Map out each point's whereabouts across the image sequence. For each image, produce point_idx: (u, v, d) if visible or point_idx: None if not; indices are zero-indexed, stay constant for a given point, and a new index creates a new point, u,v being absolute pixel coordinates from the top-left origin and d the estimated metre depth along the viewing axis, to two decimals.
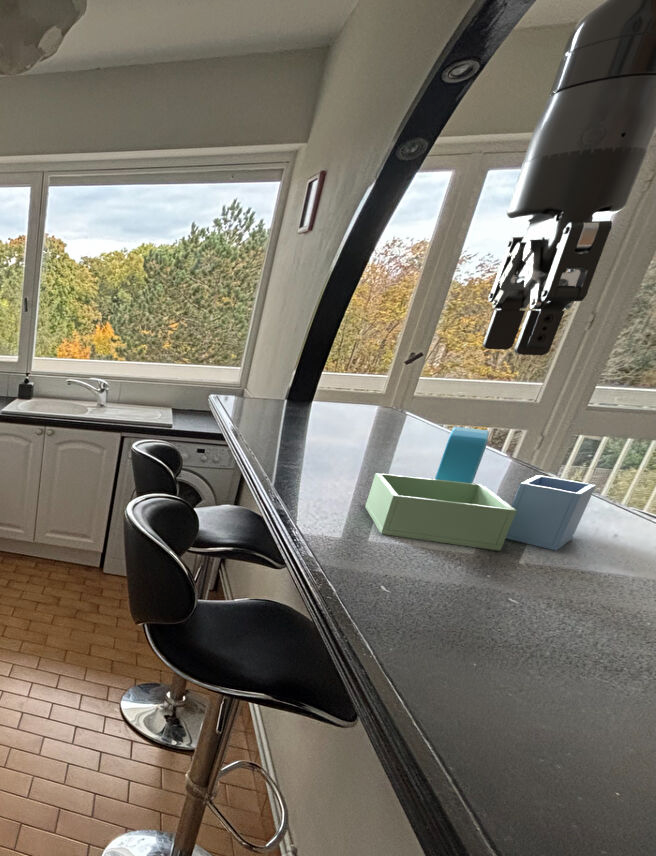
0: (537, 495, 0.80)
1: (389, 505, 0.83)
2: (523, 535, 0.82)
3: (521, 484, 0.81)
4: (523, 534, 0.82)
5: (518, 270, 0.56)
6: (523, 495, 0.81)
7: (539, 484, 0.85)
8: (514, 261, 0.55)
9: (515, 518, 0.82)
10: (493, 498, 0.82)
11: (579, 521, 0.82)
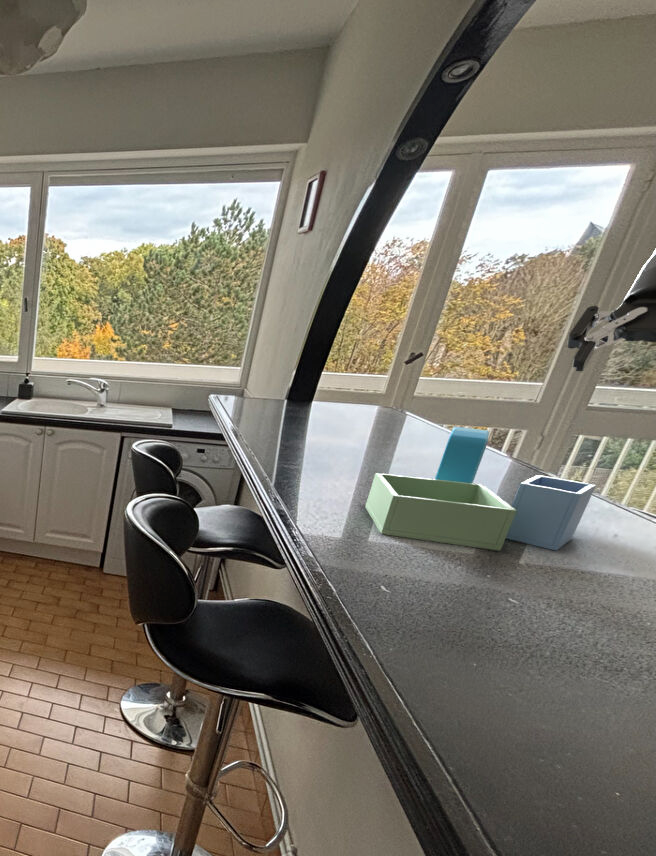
0: (537, 495, 0.80)
1: (389, 505, 0.83)
2: (523, 535, 0.82)
3: (521, 484, 0.81)
4: (523, 534, 0.82)
5: None
6: (523, 495, 0.81)
7: (539, 484, 0.85)
8: None
9: (515, 518, 0.82)
10: (493, 498, 0.82)
11: (579, 521, 0.82)
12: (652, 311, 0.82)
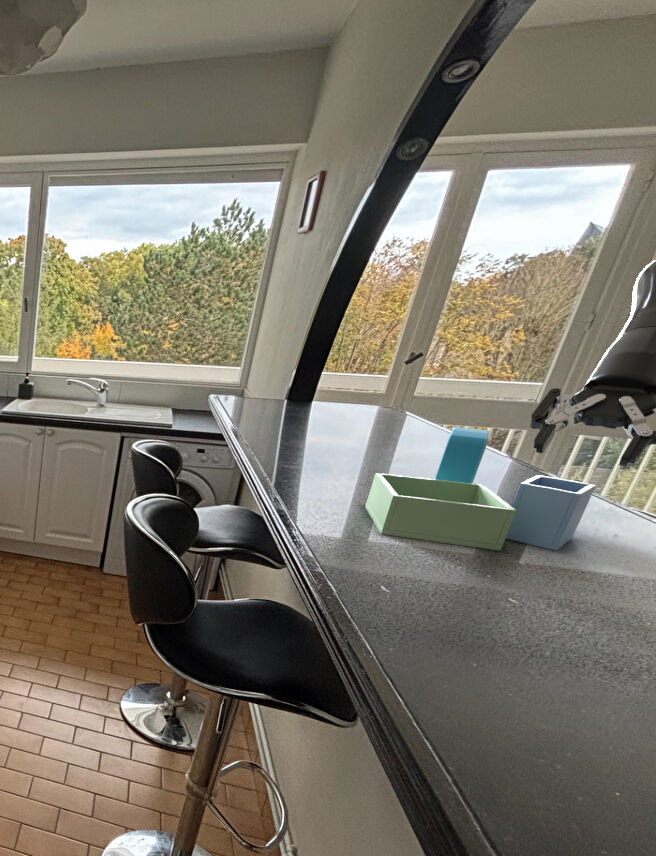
0: (537, 495, 0.80)
1: (389, 505, 0.83)
2: (523, 535, 0.82)
3: (521, 484, 0.81)
4: (523, 534, 0.82)
5: None
6: (523, 495, 0.81)
7: (539, 484, 0.85)
8: None
9: (515, 518, 0.82)
10: (493, 498, 0.82)
11: (579, 521, 0.82)
12: (610, 398, 0.84)
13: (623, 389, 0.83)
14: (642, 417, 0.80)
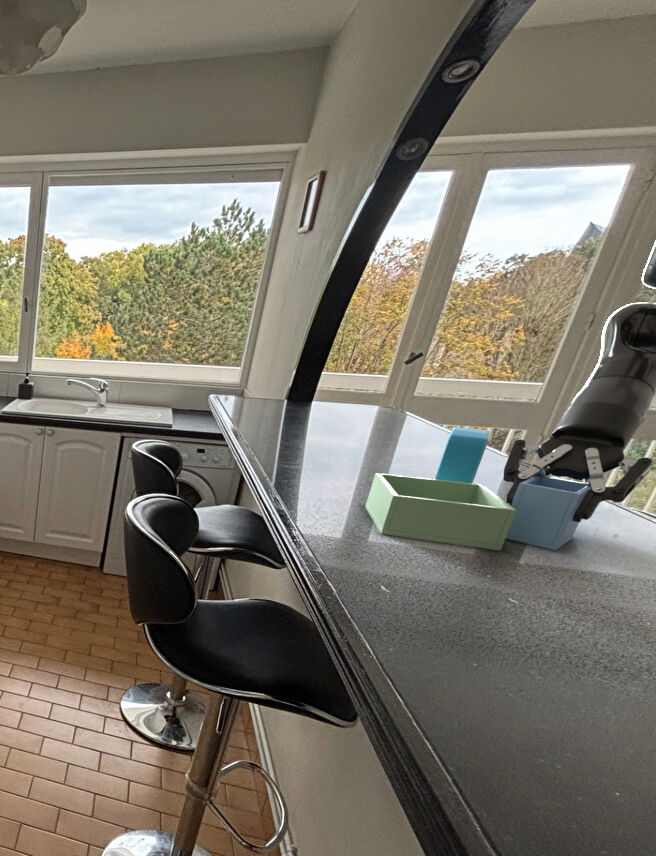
0: (537, 495, 0.80)
1: (389, 505, 0.83)
2: (523, 535, 0.82)
3: (521, 484, 0.81)
4: (523, 534, 0.82)
5: None
6: (523, 495, 0.81)
7: (539, 484, 0.85)
8: None
9: (515, 518, 0.82)
10: (493, 498, 0.82)
11: None
12: (577, 448, 0.82)
13: (589, 440, 0.81)
14: (600, 472, 0.78)
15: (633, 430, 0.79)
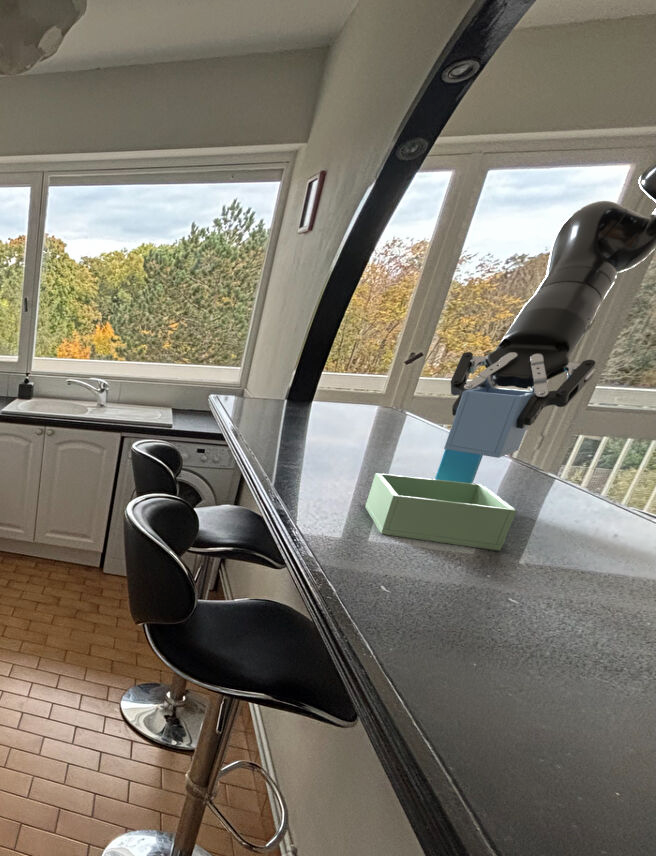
0: (480, 401, 0.78)
1: (389, 505, 0.83)
2: (467, 445, 0.80)
3: (464, 392, 0.79)
4: (467, 444, 0.80)
5: None
6: (466, 403, 0.79)
7: None
8: None
9: (459, 428, 0.80)
10: (493, 498, 0.82)
11: None
12: (522, 356, 0.80)
13: (534, 347, 0.80)
14: (544, 377, 0.77)
15: (578, 335, 0.78)
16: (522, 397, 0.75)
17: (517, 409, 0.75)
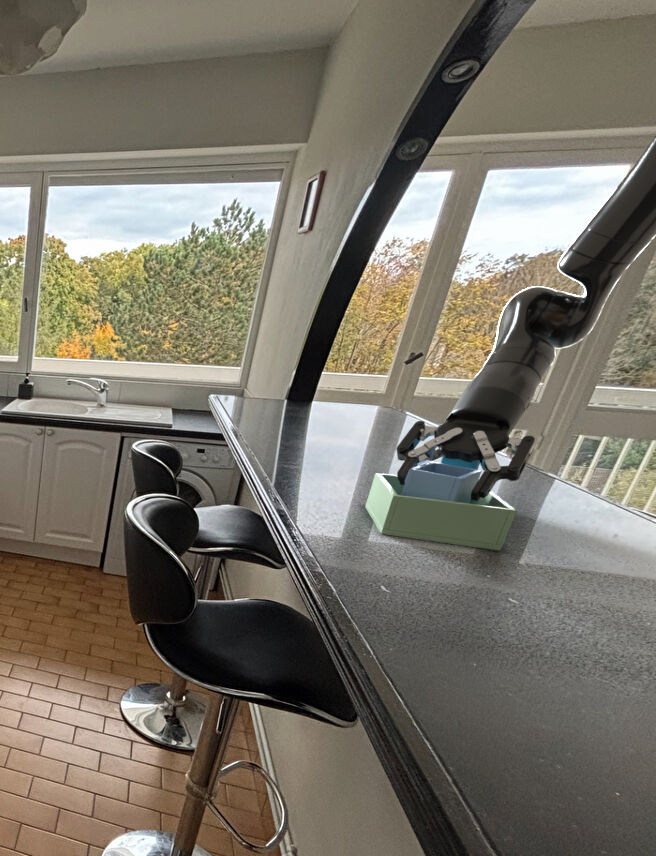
0: (424, 480, 0.83)
1: (389, 505, 0.83)
2: None
3: (410, 470, 0.84)
4: None
5: None
6: (412, 480, 0.84)
7: (432, 470, 0.88)
8: None
9: None
10: (493, 498, 0.82)
11: None
12: (467, 431, 0.85)
13: (478, 423, 0.84)
14: (492, 452, 0.81)
15: (518, 413, 0.82)
16: (462, 479, 0.80)
17: (457, 490, 0.80)
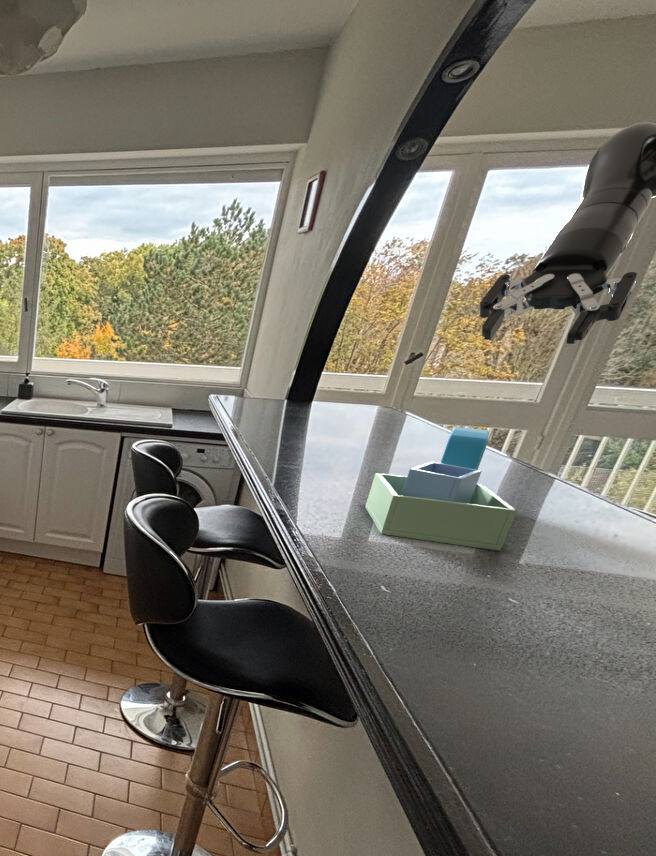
0: (424, 480, 0.83)
1: (389, 505, 0.83)
2: None
3: (410, 470, 0.84)
4: None
5: None
6: (412, 480, 0.84)
7: (432, 470, 0.88)
8: None
9: None
10: (493, 498, 0.82)
11: None
12: (559, 278, 0.81)
13: (571, 268, 0.80)
14: (590, 292, 0.77)
15: (616, 254, 0.78)
16: (462, 479, 0.80)
17: (457, 490, 0.80)
